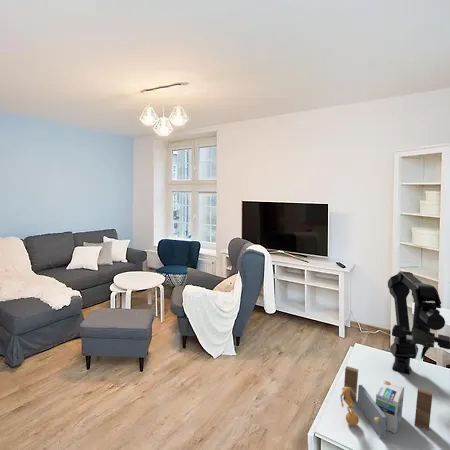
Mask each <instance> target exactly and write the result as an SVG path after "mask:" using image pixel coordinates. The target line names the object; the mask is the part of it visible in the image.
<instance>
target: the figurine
mask: <svg viewBox="0 0 450 450" xmlns="http://www.w3.org/2000/svg"><path fill="white" fill-rule="evenodd" d="M341 390H342V392H341V394H340V397H339V398H340V402H341V404H340V405H341V408H344V403H343V401H345V403H346V404H347V406H346V407H347V411H348V412H347V413H346V415H345V421H346V423H347V424H348V425H349V426H350V427H351V426H352V427H354V426H355V427H356V426H357V425H358V424H359V421H360V417H359V415H358V414H357V413H356V412H355V411H354V410H353V408H352V407H353V406H355V403H353V401H352V399H351V397H350V391H352V392H353V390H352V389H351V388H350V387H344V386H343V387H342V389H341ZM353 394H355V393H354V392H353ZM344 395H345V397H346V399H345V400H344V399H343V397H344ZM355 396H356V399H358V395H356V394H355Z"/></svg>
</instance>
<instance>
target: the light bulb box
mask: <svg viewBox="0 0 450 450" xmlns="http://www.w3.org/2000/svg"><path fill="white" fill-rule="evenodd" d="M404 394H405V386H403V385H400V384H398V383H394V382H392V381H388V380H386V379H383V380H382V381H381V384H380V386H379V387H378V389H377V392H376V394H375V403H376V404H377V405H378V407H379V408H380V409H381V411H382V412H383V413H384V415H385V416H386V428H385V431H386V430H387V431H388V432H392V433H393V434H396V433H397V431H398V428H399V426H400V423H401V419H402V417H403V404H404V396H405V395H404Z"/></svg>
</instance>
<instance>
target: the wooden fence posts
mask: <svg viewBox="0 0 450 450" xmlns="http://www.w3.org/2000/svg"><path fill="white" fill-rule="evenodd" d="M344 369H345V371H344V383H343V387H350V388H351V389H352V390H353V392H354V393H355V394H356V396H358V378H359V368H355V367H352V366H348V365H346V367H345V368H344ZM353 392H352V391H350V397H351V399H352V401H353V403H354V404H356V403H357V398H356V396H355V394H353ZM433 394H434V393H433V392H432V391H430V390H426V389H422V388H420V387H418V388H417V396H416V405H415V416H414V426H416V427H418V428H421V429H423V430H427V431H430V425H431V423H430V422H431V413H432V405H433V404H432V403H433ZM345 399H346V397H345V395H343V396H342V400H343V401H345Z"/></svg>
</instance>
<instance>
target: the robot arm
mask: <svg viewBox="0 0 450 450" xmlns="http://www.w3.org/2000/svg"><path fill="white" fill-rule="evenodd" d="M387 288H388V291H389V294H390V295H391V297H392V298H393V299H394V300H393V301H394V308H395V318H396V324H393V327H392V329H391V330H392V331H391V336H392V337H394V338H393V343H392V344H391V345H390V346H389V347H390V353H391V354H392V356H393V357H394V362H393V365H392V370H393V371H397V372H400V373H403V374H407V375H410V374H411V369H412V366H410V363H411V359H415V360H416V358H417V355H418V352H419V347H418V345H420V346H422V350H421V355H420V360H423V358H424V357H425V354H426V353H427V351H428V350H429V349H430V348H435V343H437V346H438V347H439V348H441V349H444V350H450V336H448V335H443V334H440V333H439V334H437V336H436V335H435V334H436V333H434V332H431V330H433V331H439V330H441V329H443V328H444V327H445V325H446V319H445V318H444V317H443V315H442V314H440V313H441V311H440V310H439V309H442V305H441V304H442V301H441V298H440V294H439V292H438V289H437V288H436V287H435V286H434V285H431V284H429V283H423V281H421V280H420V279H419V278H417V276H415V275H414V274H413V273H412V272H411V271H399V272H398V273H397V274H395V275H393V276H391V277H390V278H389V279H388V280H387ZM410 293H411V297H412V300H413V301H412V302H413V303H414V308H413V315H412V316H413V319H412V328H411V327H410V319H409V310H408V303H407V302H408V300H407V298H408V295H409V294H410ZM410 328H411V329H410Z"/></svg>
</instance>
